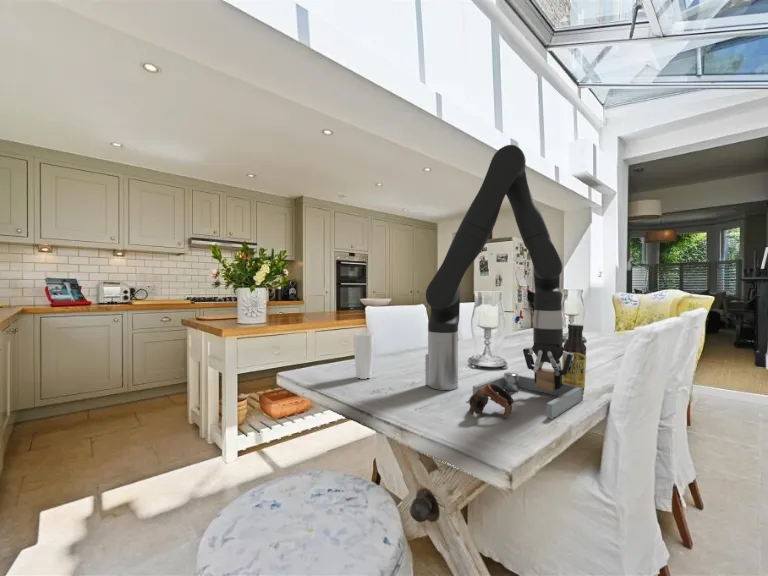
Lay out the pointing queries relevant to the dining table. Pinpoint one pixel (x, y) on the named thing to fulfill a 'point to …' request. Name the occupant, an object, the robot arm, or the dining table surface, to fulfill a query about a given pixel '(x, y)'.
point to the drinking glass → (363, 354)
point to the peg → (511, 382)
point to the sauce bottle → (579, 362)
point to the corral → (566, 393)
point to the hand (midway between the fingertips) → (548, 386)
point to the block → (545, 379)
